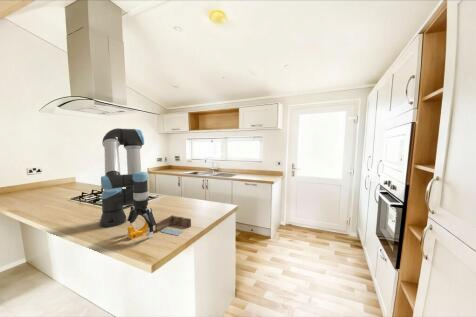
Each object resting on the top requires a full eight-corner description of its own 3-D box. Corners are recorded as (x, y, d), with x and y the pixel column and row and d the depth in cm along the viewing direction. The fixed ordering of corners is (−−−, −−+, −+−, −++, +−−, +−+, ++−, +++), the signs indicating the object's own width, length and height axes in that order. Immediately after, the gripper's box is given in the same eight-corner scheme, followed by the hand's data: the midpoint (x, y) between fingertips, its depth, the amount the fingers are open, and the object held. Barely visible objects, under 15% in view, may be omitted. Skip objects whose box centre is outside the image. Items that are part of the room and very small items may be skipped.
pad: (160, 231, 113) (160, 231, 113) (166, 228, 118) (166, 227, 118) (177, 235, 109) (177, 235, 109) (183, 232, 113) (183, 231, 113)
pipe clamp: (131, 240, 104) (131, 228, 103) (128, 237, 106) (127, 226, 106) (152, 231, 114) (152, 221, 113) (148, 230, 116) (148, 219, 116)
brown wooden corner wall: (155, 231, 114) (155, 223, 113) (172, 222, 127) (172, 215, 127) (175, 236, 108) (175, 228, 108) (191, 226, 122) (190, 218, 121)
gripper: (119, 198, 108) (121, 234, 110) (151, 203, 99) (152, 242, 101) (131, 195, 115) (132, 228, 117) (162, 199, 106) (163, 236, 108)
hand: (141, 235), depth 109 cm, fingers open, 12 cm apart
